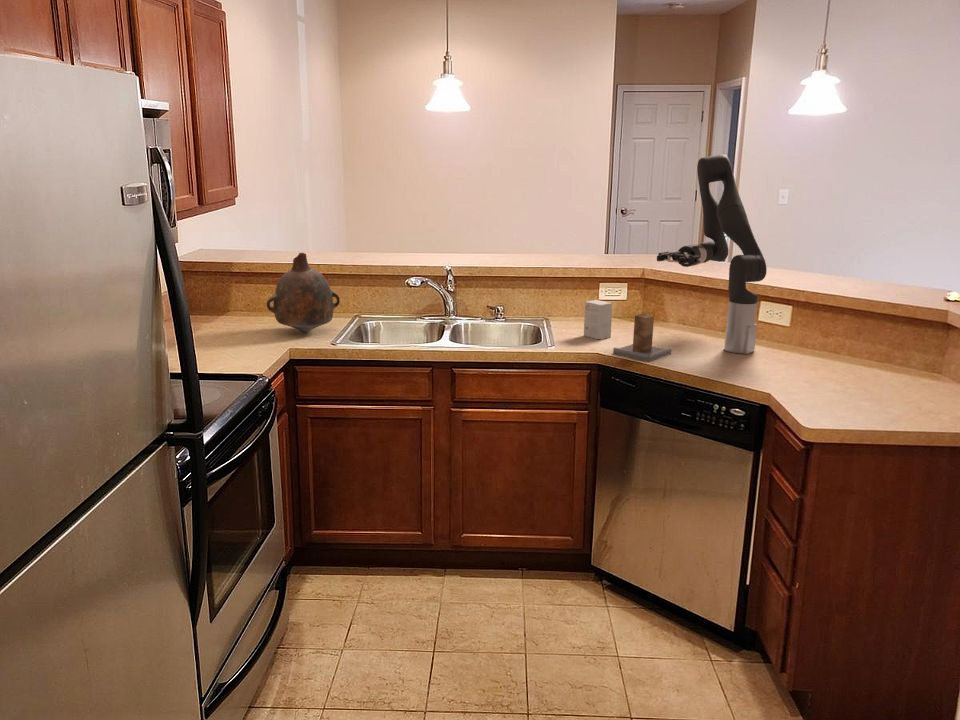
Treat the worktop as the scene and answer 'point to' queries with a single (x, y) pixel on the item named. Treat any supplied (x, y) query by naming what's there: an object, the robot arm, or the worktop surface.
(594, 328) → the small box
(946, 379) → the worktop surface
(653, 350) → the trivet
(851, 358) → the worktop surface
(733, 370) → the worktop surface
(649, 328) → the walnut block
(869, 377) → the worktop surface
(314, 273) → the jug
